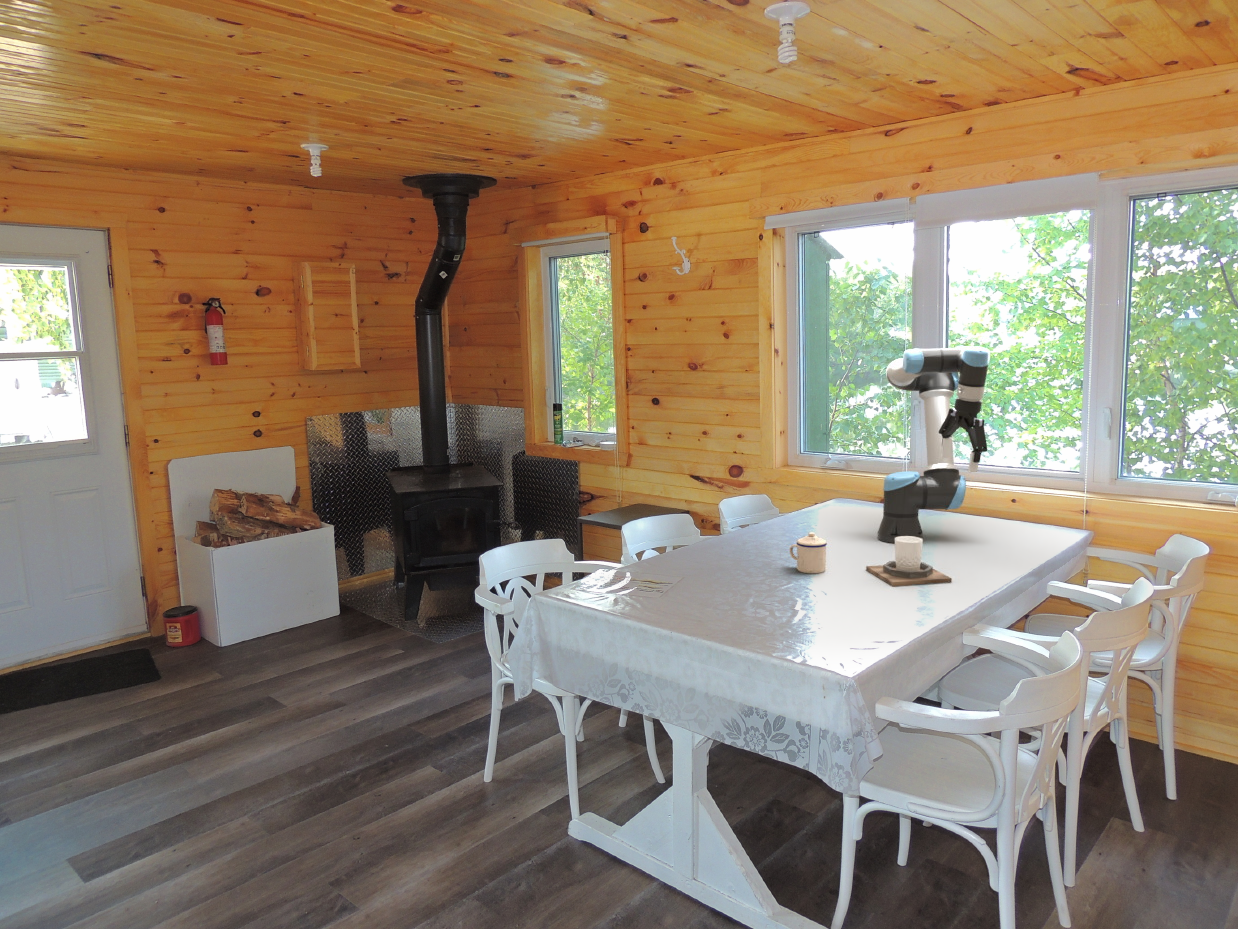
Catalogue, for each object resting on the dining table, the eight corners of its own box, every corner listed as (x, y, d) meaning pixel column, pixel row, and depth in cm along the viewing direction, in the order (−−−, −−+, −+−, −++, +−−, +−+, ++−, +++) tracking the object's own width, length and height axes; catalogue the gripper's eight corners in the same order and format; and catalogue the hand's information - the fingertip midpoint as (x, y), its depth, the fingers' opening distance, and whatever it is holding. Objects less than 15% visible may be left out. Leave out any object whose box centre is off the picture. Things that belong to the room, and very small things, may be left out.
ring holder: (866, 570, 272) (866, 560, 272) (921, 566, 275) (921, 556, 274) (892, 586, 255) (892, 576, 254) (951, 582, 257) (951, 572, 257)
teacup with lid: (831, 569, 274) (832, 532, 273) (817, 575, 267) (817, 537, 266) (797, 563, 282) (797, 527, 280) (782, 569, 275) (782, 532, 273)
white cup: (889, 569, 268) (890, 536, 267) (915, 568, 269) (916, 535, 267) (900, 576, 260) (900, 542, 259) (926, 575, 261) (927, 541, 260)
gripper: (933, 389, 280) (923, 453, 287) (985, 409, 257) (974, 478, 264) (953, 388, 282) (943, 451, 289) (1007, 408, 260) (995, 477, 266)
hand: (958, 464), depth 277 cm, fingers open, 13 cm apart
